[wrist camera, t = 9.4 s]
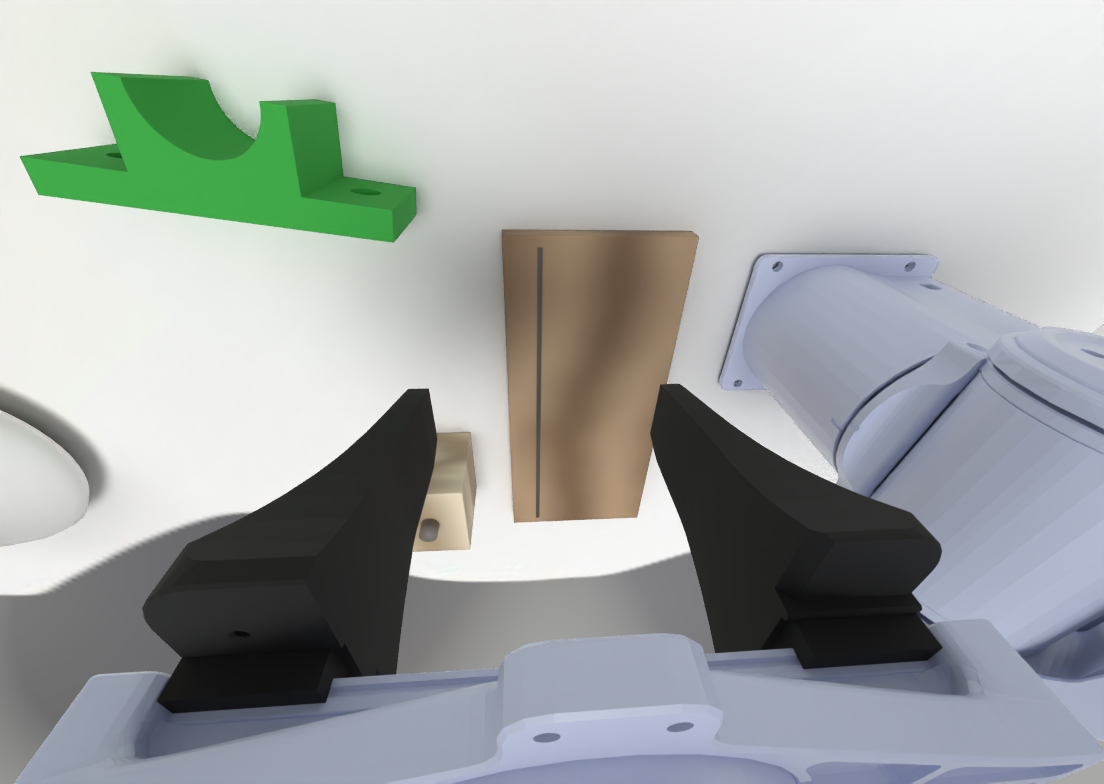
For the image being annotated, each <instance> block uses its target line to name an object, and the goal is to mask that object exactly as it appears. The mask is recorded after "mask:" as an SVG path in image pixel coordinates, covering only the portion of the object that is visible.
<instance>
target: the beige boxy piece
mask: <svg viewBox="0 0 1104 784" xmlns="http://www.w3.org/2000/svg"><path fill="white" fill-rule="evenodd" d="M437 439H438V440H437V448H436V456H435V463H434V469H433V473H432V477H431V480H430V484H429V488H428V492H427V495H426V499H425V502H424V506H423V510H422V513H421V517H420V521H419V524H418V528H417V532H416V536H415V541H414V545H413V551H412V552H420V551H442V550H465V549H470V545H471V536H472V526H473V516H474V506H475V496H476V478H475V469H474V460H473V452H472V443H471V434H470V432H456V433H437Z"/></svg>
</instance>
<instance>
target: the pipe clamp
mask: <svg viewBox="0 0 1104 784" xmlns="http://www.w3.org/2000/svg"><path fill="white" fill-rule="evenodd" d="M91 75H92V77H93V80H94V83H95V85H96V88H97V91H98V93H99V96H100V99H101V101H102V104H103V107H104V110H105V112H106V115H107V118H108V120H109V123H110V126H111V128H112V131H113V134H114V136H115V139H116V142H117V144H112V145H104V146H96V147H88V148H81V149H73V150H65V151H57V152H49V153H42V154H34V155H26V156H20V158H21V160H22V162H23V164H24V166H25V168H26V170H27V172H28V174H29V176H30V179H31V181H32V183H33V185H34V187H35V189H36V191H37V193H38V195H44V196H51V197H59V198H66V199H73V200H81V201H88V202H96V203H103V204H111V205H118V206H126V207H133V208H140V209H148V210H155V211H163V212H170V213H178V214H185V215H192V216H200V217H207V218H215V219H222V220H230V221H237V222H245V223H252V224H259V225H267V226H274V227H282V228H289V229H297V230H304V231H312V232H319V233H326V234H334V235H341V236H349V237H356V238H364V239H371V240H378V241H386V242H393V243H394V242H395V240H396V239H397V238H398V237H399V236H400V234H401V233H402V232H403V231H404V229H405V228H406V227H407V226H408V224H409V223H410V222H411V221H412V219H413V218H414V217H415V216H416V188H414V187H408V186H401V185H395V184H388V183H382V182H375V181H369V180H362V179H356V178H349V177H343V169H342V160H341V151H340V142H339V133H338V125H337V116H336V107H335V103H332V102H326V101H321V100H315V99H314V100H285V101H259V102H260V109H261V123H260V129H259V133H258V136H257V138H256V140H254V139H253V138H251V137H249V136H248V135H246V134H245V133H243V132H242V131H241V130H240V129H238V128H237V127H236V126H235V125H234V124H233V123H232V122H231V121H230V120H229V118H228V117H227V116H226V115H225V114H224V112H223V111H222V109H221V108H220V106H219V105H218V103H217V101H216V99H215V97H214V95H213V93H212V90H211V87H210V84H209V81H208V80H203V79H197V78H191V77H184V76H164V75H143V74H122V73H101V72H91Z"/></svg>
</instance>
